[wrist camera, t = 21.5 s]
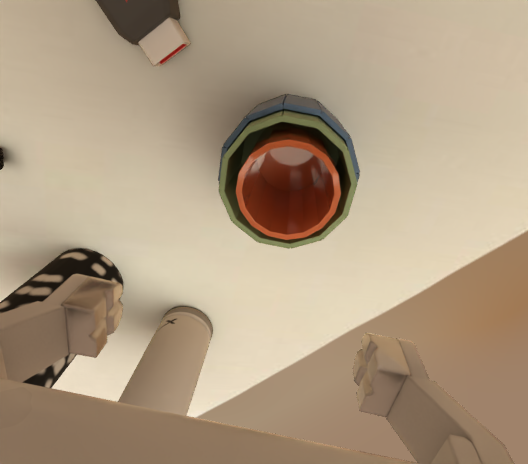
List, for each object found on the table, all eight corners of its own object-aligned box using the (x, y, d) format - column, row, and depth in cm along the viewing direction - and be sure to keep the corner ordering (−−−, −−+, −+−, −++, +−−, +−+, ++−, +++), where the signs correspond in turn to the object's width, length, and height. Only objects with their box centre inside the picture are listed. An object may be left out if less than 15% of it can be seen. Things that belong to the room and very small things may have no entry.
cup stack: (245, 85, 31) (222, 94, 21) (358, 107, 31) (383, 125, 21) (230, 192, 35) (205, 238, 26) (328, 212, 35) (339, 265, 26)
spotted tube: (97, 319, 44) (-44, 498, 26) (40, 276, 42) (-157, 437, 24) (137, 283, 41) (9, 455, 23) (78, 234, 39) (-114, 381, 21)
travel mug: (164, 298, 41) (61, 477, 23) (218, 314, 42) (157, 504, 24) (156, 336, 44) (57, 524, 26) (206, 352, 44) (143, 547, 26)
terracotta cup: (261, 111, 29) (245, 130, 21) (337, 127, 29) (353, 153, 21) (247, 184, 32) (229, 228, 24) (317, 199, 32) (324, 248, 24)
